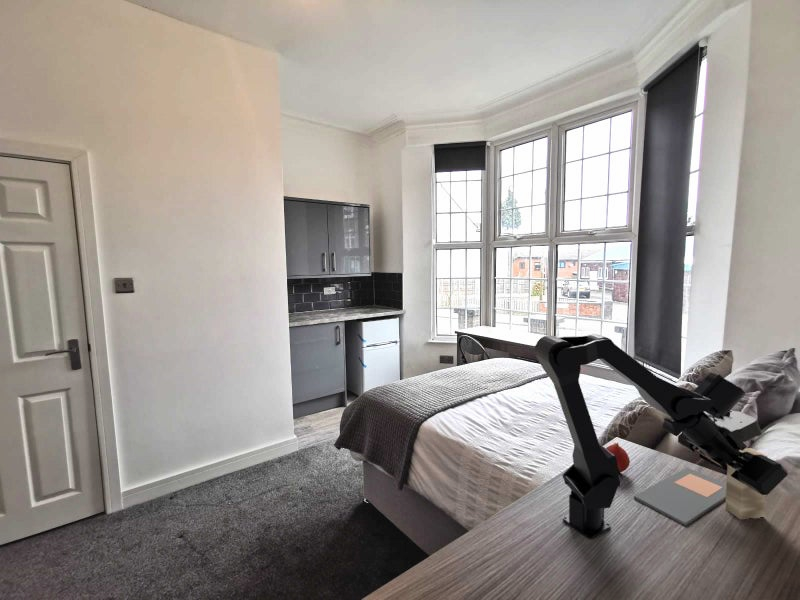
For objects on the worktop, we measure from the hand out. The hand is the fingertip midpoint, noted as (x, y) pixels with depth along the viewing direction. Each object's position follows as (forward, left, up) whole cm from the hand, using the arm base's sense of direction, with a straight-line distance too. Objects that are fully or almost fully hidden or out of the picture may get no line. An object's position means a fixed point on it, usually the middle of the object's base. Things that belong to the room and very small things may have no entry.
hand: (752, 480), depth 75 cm
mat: (-4, +10, -7) cm, 13 cm away
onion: (-9, +23, -7) cm, 26 cm away
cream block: (-1, +1, -7) cm, 7 cm away
